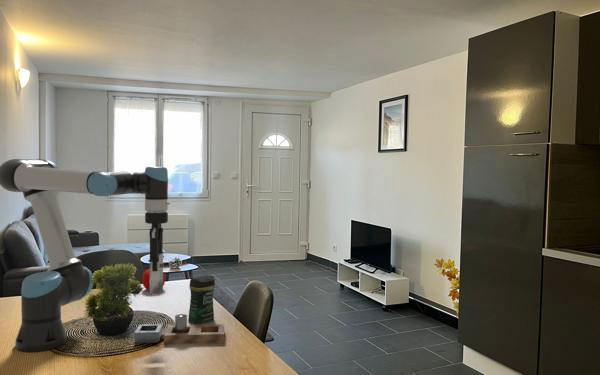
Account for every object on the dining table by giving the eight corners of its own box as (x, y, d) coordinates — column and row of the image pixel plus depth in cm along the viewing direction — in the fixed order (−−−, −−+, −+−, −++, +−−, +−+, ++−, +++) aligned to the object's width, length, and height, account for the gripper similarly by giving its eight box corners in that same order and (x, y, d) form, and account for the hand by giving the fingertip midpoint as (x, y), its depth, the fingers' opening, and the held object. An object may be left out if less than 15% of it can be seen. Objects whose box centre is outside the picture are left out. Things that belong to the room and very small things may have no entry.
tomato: (164, 292, 227) (165, 269, 227) (141, 293, 224) (142, 270, 224) (164, 286, 237) (165, 265, 237) (142, 287, 234) (142, 266, 234)
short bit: (174, 340, 163) (174, 317, 163) (175, 336, 167) (175, 314, 167) (186, 340, 164) (186, 317, 163) (187, 336, 168) (187, 313, 167)
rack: (163, 347, 160) (164, 335, 160) (167, 336, 170) (168, 325, 170) (223, 345, 163) (224, 334, 163) (224, 335, 173) (224, 324, 172)
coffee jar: (197, 328, 179) (198, 279, 178) (185, 323, 184) (185, 276, 183) (217, 322, 186) (218, 275, 185) (205, 317, 191) (206, 272, 191)
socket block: (134, 345, 160) (134, 332, 160) (138, 337, 168) (139, 324, 168) (158, 344, 162) (158, 332, 161) (162, 336, 169) (162, 324, 169)
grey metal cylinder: (148, 293, 162) (148, 255, 161) (150, 290, 166) (150, 253, 166) (162, 293, 162) (162, 255, 162) (164, 289, 167) (164, 253, 166)
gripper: (163, 214, 155) (163, 284, 156) (171, 209, 172) (170, 272, 173) (140, 214, 154) (140, 285, 155) (149, 209, 171) (149, 272, 172)
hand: (156, 278), depth 164 cm, fingers closed on grey metal cylinder, 5 cm apart
